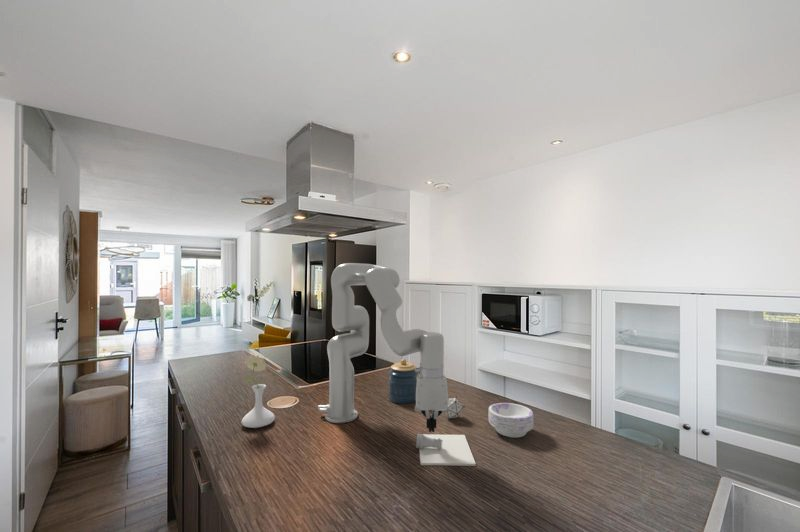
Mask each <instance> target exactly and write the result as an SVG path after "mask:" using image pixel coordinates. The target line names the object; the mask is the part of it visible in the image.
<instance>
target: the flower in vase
mask: <svg viewBox="0 0 800 532" xmlns="http://www.w3.org/2000/svg"><path fill="white" fill-rule="evenodd" d="M244 364H245V366H246V367H247V368H248V369H250V370H251V371H252V373H251V374H252V375H251V376H250V375H247V376H246V377H245V378H244V379H243V381H248V382H249V383H250V382H251V383H252V382H254V384H253V385H252V386H251V389H252V391H253V393H254V396H255V398H254V399H255V403H254V407H253V408H252V409H251V410H250V411H249V412H247V414H245V415H244V416H243V418H242V419H241V424H242V426H243V427H244V428H252V429H257V428H263V427H265V426H268V425H270V424H272V423H273V422H274V421H275V419H276V416H275V413H273V412H272V411H271V410H269V409H267V408H265V406H263V394H264V391H265V388H266V387H267V385H266V384H264V383H261V382H263V381H264V380H265V379H266V377H262V378H260V379H259V380H257V381H256V380H255V378H254V373H255V372H260V371H264V370H266V367H267V362H266V360H265V358H263V357H260V356H259V355H258V354H257V355H255V354H252V355H251V354H250V355H249V356H246V357H245V359H244ZM254 371H255V372H254ZM259 383H261V384H259Z"/></svg>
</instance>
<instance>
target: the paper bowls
mask: <svg viewBox="0 0 800 532" xmlns="http://www.w3.org/2000/svg"><path fill="white" fill-rule="evenodd" d="M488 423H489V424H490V425H491V426H492V427H494V429H495V431H496V432H497V433H498V434H500V435H501V436H504V437H507V438H511V439H512V438H514V439H516V438H522V437H525V436H526V435H527V433H528V432H530V431H532V430H533V429H534V411H532V409H531V408H529V407H527V406H524V405H522V404H516V403H511V402H500V403H499V402H498V403H493V404H491V405H489V407H488Z"/></svg>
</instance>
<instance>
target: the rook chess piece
mask: <svg viewBox="0 0 800 532" xmlns="http://www.w3.org/2000/svg"><path fill="white" fill-rule="evenodd" d="M423 434H424V433H421V434H420V433H419V432H418V433H417V434H416V435H417V436H416V442H415V443H416V444H415V448H416V449H419V448H420V449H422V448H423V447H433V448H435V447H436V448H437V449H438V450H439V449H442V446H441V445H442V443H441V442H442V440H441V439H440V438H439V439H435V438H434V439H432V438H428V437H426V436H424V435H423Z"/></svg>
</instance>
